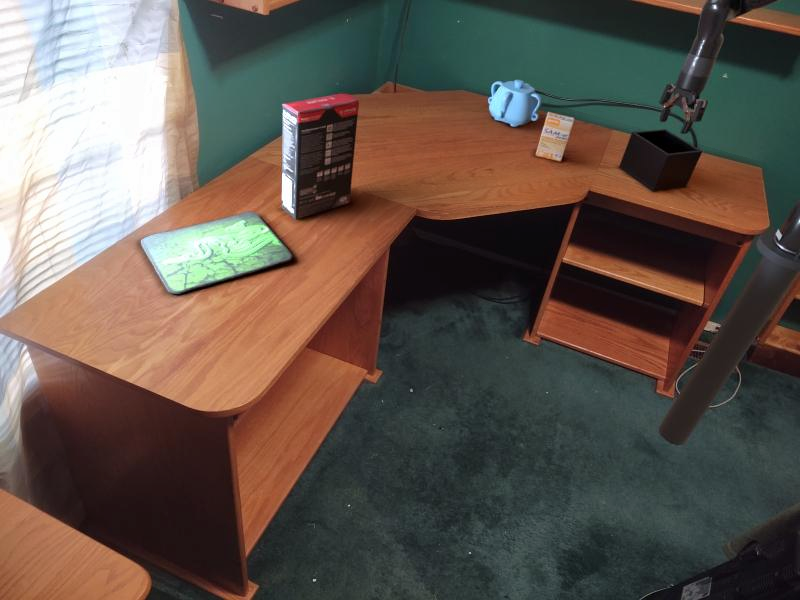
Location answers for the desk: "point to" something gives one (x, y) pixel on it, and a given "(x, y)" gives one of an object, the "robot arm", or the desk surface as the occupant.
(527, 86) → the decorative pot
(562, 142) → the supplement box
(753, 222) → the desk surface
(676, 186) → the waste bin
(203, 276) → the mouse mat
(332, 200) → the graphics card box
